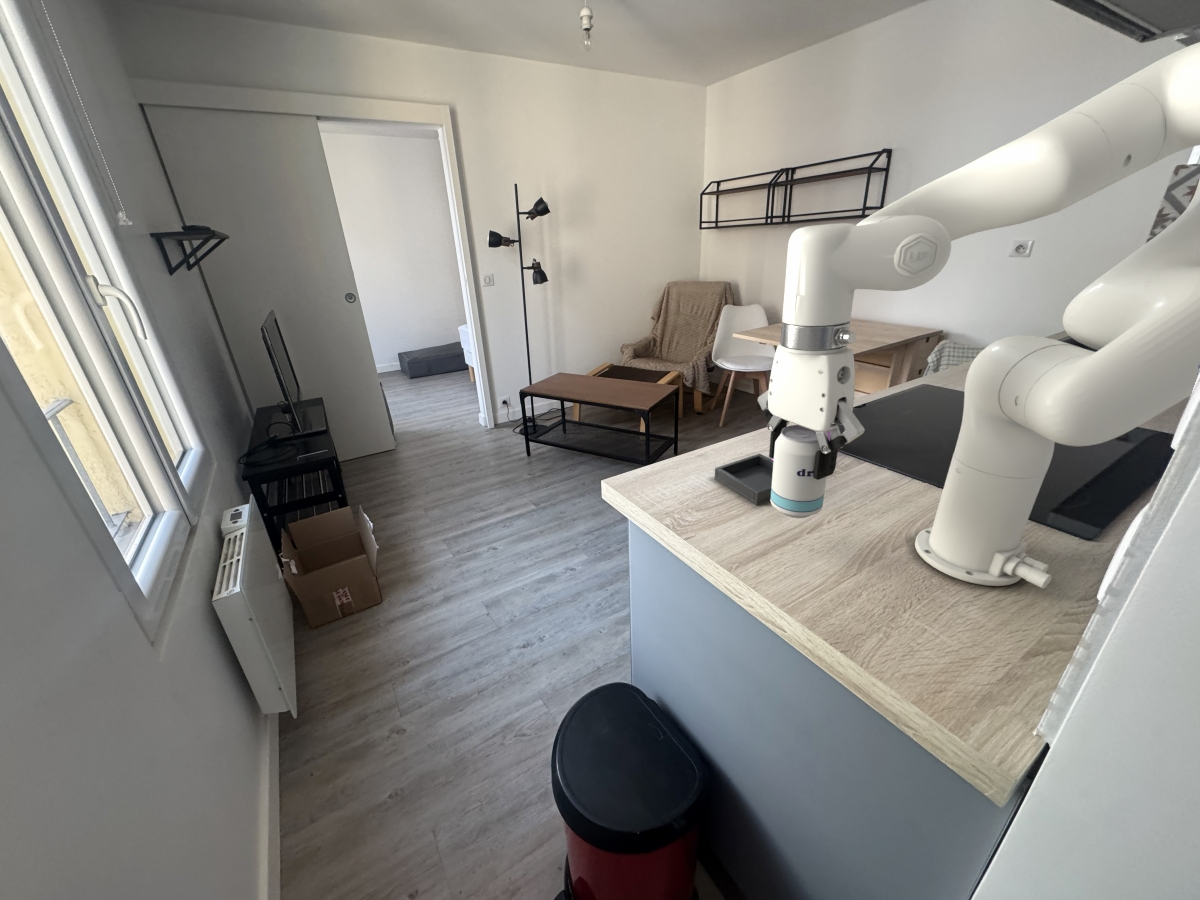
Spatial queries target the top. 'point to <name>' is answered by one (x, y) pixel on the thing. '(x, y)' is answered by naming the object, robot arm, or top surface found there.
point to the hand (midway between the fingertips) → (799, 464)
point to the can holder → (748, 477)
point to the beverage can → (796, 473)
